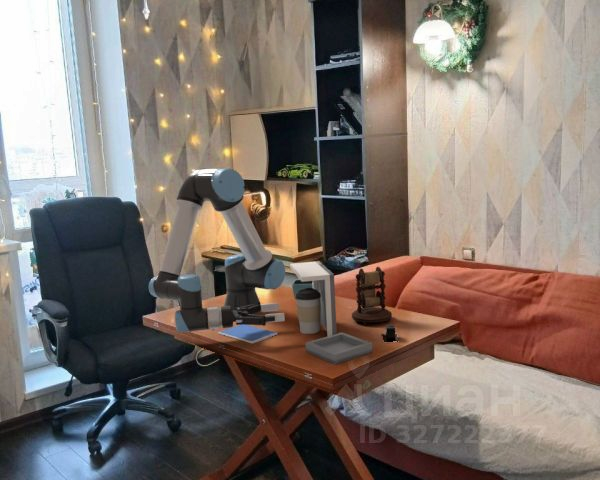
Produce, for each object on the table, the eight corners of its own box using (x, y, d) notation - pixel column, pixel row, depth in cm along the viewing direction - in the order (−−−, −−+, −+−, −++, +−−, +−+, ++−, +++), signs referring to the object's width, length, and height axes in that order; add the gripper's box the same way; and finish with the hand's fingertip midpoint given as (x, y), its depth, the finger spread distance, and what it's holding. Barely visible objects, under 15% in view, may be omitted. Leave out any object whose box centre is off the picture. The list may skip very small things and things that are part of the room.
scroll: (382, 312, 227) (380, 262, 223) (398, 323, 213) (397, 269, 209) (346, 317, 223) (344, 266, 219) (360, 328, 209) (358, 273, 205)
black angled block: (403, 345, 190) (402, 332, 190) (380, 346, 191) (380, 332, 190) (399, 333, 203) (399, 320, 202) (378, 334, 203) (377, 321, 203)
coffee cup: (320, 335, 204) (318, 293, 201) (295, 334, 206) (292, 293, 203) (324, 327, 213) (322, 286, 210) (300, 326, 214) (297, 286, 212)
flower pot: (295, 299, 253) (294, 279, 251) (316, 299, 251) (315, 279, 250) (292, 305, 244) (291, 284, 243) (313, 305, 243) (312, 283, 241)
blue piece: (217, 334, 212) (216, 331, 212) (243, 326, 221) (243, 322, 221) (251, 345, 198) (251, 341, 198) (278, 335, 207) (278, 332, 207)
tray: (306, 351, 188) (305, 342, 188) (342, 340, 196) (342, 332, 196) (335, 364, 176) (334, 354, 175) (372, 352, 184) (372, 343, 184)
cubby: (293, 322, 220) (290, 263, 217) (322, 319, 222) (319, 261, 218) (305, 342, 197) (301, 277, 193) (337, 339, 199) (334, 274, 195)
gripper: (220, 318, 216) (277, 312, 219) (223, 339, 191) (287, 332, 195) (218, 298, 214) (276, 293, 218) (221, 316, 190) (286, 310, 193)
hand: (281, 311), depth 206 cm, fingers open, 13 cm apart
